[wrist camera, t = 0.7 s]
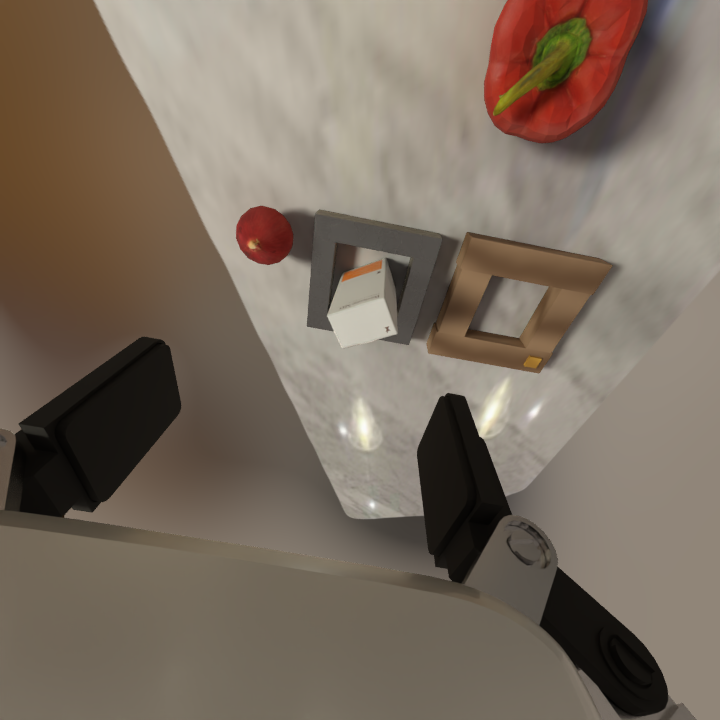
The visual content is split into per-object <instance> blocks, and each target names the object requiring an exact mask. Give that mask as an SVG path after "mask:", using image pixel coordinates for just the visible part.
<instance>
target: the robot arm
mask: <svg viewBox="0 0 720 720" xmlns="http://www.w3.org/2000/svg"><path fill="white" fill-rule="evenodd" d="M180 410H181V401H180V396H179V391H178V386H177V381H176V376H175V371H174V366H173V361H172V356H171V351H170V347H169V346H167V345H166V344H165V342H164V341H163V340H160V339H154V338H149V337H141V338H139V339H138V340H136V341H135V342H133V343H132V344H130V345H129V346H128V347H126V348H125V349H123V350H122V351H121V352H119V353H118V354H116V355H115V356H114V357H112V358H111V359H109V360H108V361H106V362H105V363H104V364H102V365H101V366H99V367H98V368H97V369H95V370H94V371H92V372H91V373H89V374H88V375H87V376H85V377H84V378H83V379H81V380H80V381H78V382H77V383H75V384H74V385H73V386H71V387H70V388H68V389H67V390H65V391H64V392H63V393H62V394H60V395H59V396H57V397H56V398H54V399H53V400H51V401H50V402H49V403H47V404H46V405H44V406H43V407H41V408H40V409H39V410H37V411H36V412H34V413H33V414H32V415H30V416H29V417H28V418H26V419H24V420H23V421H22V422H20V423H19V425H20V427H21V430H20V431H19V432H17V433H16V434H13V433H12V432H11V431H9V430H5V429H0V720H696V719H695V717H694V716H693V715H692V714H691V713H690V711H689V710H688V709H687V708H686V707H685V705H684V704H683V703H680V704H675V702H674V701H673V700H672V699H671V698H670V696H669V695H668V690H667V685H666V683H665V680H664V676H663V674H662V672H661V670H660V668H659V666H658V664H657V663H656V661H655V659H654V657H653V656H652V655H651V653H650V652H649V651H648V649H647V648H646V647H645V646H644V644H643V643H642V642H641V641H640V640H639V639H638V638H637V637H636V636H635V635H634V634H633V633H632V632H631V631H629V630H628V629H627V628H626V627H625V626H624V625H623V624H622V623H621V622H619V621H618V620H617V619H616V618H615V617H614V616H612V615H611V614H610V613H609V612H608V611H607V610H606V609H605V608H604V607H603V606H601V605H600V604H599V603H598V602H597V601H596V600H595V599H594V598H592V597H591V596H590V595H589V594H588V593H587V592H586V591H584V590H583V589H582V588H581V587H580V586H579V585H578V584H577V583H575V582H574V581H573V580H572V579H571V578H570V577H569V576H568V575H566V574H565V573H564V572H563V571H562V570H561V569H560V568H558V567H557V565H558V558H557V554H556V550H555V548H554V546H553V544H552V543H551V541H550V539H549V538H548V537H547V535H546V534H545V533H544V532H543V531H542V530H541V529H540V528H539V527H538V526H537V525H536V524H534V523H533V522H531V521H530V520H528V519H526V518H523V517H521V516H518V515H512V513H511V511H510V508H509V505H508V503H507V500H506V497H505V494H504V492H503V489H502V486H501V484H500V481H499V478H498V476H497V473H496V470H495V467H494V465H493V462H492V459H491V457H490V454H489V451H488V449H487V446H486V443H485V441H484V439H482V438H481V437H479V434H478V432H477V429H476V426H475V423H474V420H473V418H472V415H471V412H470V409H469V406H468V404H467V401H466V398H465V397H464V396H461V395H456V394H451V393H447V394H446V395H445V397H444V396H441V397H440V398H439V400H438V402H437V405H436V407H435V409H434V412H433V414H432V416H431V419H430V421H429V423H428V425H427V428H426V430H425V432H424V435H423V437H422V439H421V442H420V444H419V446H418V450H417V459H418V468H419V476H420V484H421V493H422V501H423V510H424V518H425V527H426V534H427V543H428V550H429V553H430V554H431V555H434V559H435V566H436V567H440V568H446V569H448V574H449V578H450V579H451V580H452V581H448V580H444V579H439V578H435V577H430V576H426V575H420V574H415V573H409V572H404V571H398V570H393V569H387V568H382V567H376V566H370V565H364V564H358V563H352V562H346V561H339V560H333V559H327V558H321V557H315V556H308V555H302V554H296V553H290V552H284V551H278V550H271V549H265V548H258V547H252V546H246V545H240V544H233V543H227V542H220V541H213V540H208V539H201V538H194V537H188V536H182V535H176V534H169V533H162V532H156V531H148V530H143V529H136V528H129V527H122V526H116V525H110V524H103V523H96V522H89V521H83V520H76V519H69V518H64V515H65V513H67V511H68V510H69V509H70V508H71V507H72V508H73V509H74V510H80V511H86V512H93V511H94V510H95V509H96V508H97V506H98V505H99V504H100V503H101V502H104V501H106V500H108V499H109V498H110V497H111V495H113V493H114V492H115V491H116V489H117V488H118V487H119V486H120V485H121V483H122V482H123V481H124V480H125V479H126V478H127V476H128V475H129V474H130V473H131V471H132V470H133V469H134V468H135V467H136V465H137V464H138V463H139V462H140V460H141V459H142V458H143V457H144V456H145V454H146V453H147V452H148V451H149V450H150V448H151V447H152V446H153V445H154V443H155V442H156V441H157V440H158V439H159V437H160V436H161V435H162V434H163V432H164V431H165V430H166V429H167V428H168V426H169V425H170V424H171V423H172V421H173V420H174V419H175V418H176V417H177V416H178V414H179V412H180Z"/></svg>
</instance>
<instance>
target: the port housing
mask: <svg viewBox="0 0 720 720" xmlns="http://www.w3.org/2000/svg"><path fill="white" fill-rule="evenodd" d="M456 263H457V267H456V269H455V272H454V275H453V277H452V280H451V283H450V286H449V288H448V291H447V294H446V297H445V299H444V302H443V305H442V308H441V310H440V313H439V316H438V318H437V321H436V323H434V324H433V327H432V330H431V333H430V335H429V338H428V341H427V348H428V353H429V354H435V355H440V356H446V357H451V358H457V359H462V360H468V361H474V362H479V363H485V364H490V365H496V366H501V367H507V368H512V369H518V370H523V371H529V372H534V373H540V372H541V370H542V369H543V367H544V366H545V364H546V363H547V362H548V360H549V359H550V357H551V356H552V354H553V353H552V351H553V350H554V348H555V347H556V345H557V344H558V342H559V341H560V339H561V338H562V336H563V335H564V333H565V332H566V330H567V329H568V327H569V326H570V325H571V323H572V322H573V320H574V319H575V317H576V316H577V314H578V313H579V311H580V310H581V308H582V307H583V305H584V304H585V302H586V301H587V299H588V298H589V296H590V295H593V294H594V292H595V291H596V289H597V288H598V287H599V285H600V284H601V282H602V281H603V279H604V278H605V276H606V275H607V273H608V272H609V270H610V269H611V267H612V266H613V265H611V264H609V263H607V262H605V261H603V260H601V259H599V258H594V257H589V256H585V255H580V254H575V253H570V252H565V251H560V250H555V249H550V248H545V247H540V246H535V245H530V244H525V243H520V242H515V241H510V240H505V239H500V238H495V237H490V236H485V235H480V234H475V233H470V232H467V233H466V236H465V239H464V241H463V244H462V247H461V250H460V252H459V255H458V258H457V261H456ZM492 275H494V276H499V277H504V278H509V279H514V280H519V281H525V282H530V283H535V284H540V285H545V286H549V288H548V290H547V291H546V293H545V295H544V297H543V298H542V300H541V302H540V303H539V305H538V307H537V309H536V310H535V312H534V314H533V316H532V317H531V319H530V321H529V323H528V324H527V326H526V328H525V329H524V331H523V333H522V335H521V336H520V338H514V337H508V336H503V335H498V334H492V333H487V332H482V331H476V330H471V329H468V327H469V325H470V323H471V321H472V318H473V316H474V314H475V312H476V309H477V307H478V305H479V303H480V301H481V298H482V296H483V294H484V292H485V289H486V287H487V285H488V283H489V280H490V278H491V276H492Z"/></svg>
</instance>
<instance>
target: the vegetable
mask: <svg viewBox="0 0 720 720" xmlns="http://www.w3.org/2000/svg"><path fill="white" fill-rule="evenodd" d="M647 3H648V0H508V1H507V2H506V4H505V6H504V8H503V10H502V12H501V14H500V16H499V18H498V21H497V23H496V25H495V27H494V33H493V38H492V43H491V50H490V58H489V65H488V69H487V73H486V77H485V81H484V101H485V104H486V108H487V112H488V114H489V116H490V118H491V120H492V122H493V124H494V125H495V126H496V127H497V128H498V129H500V130H501V131H502V132H504V133H505V134H508V135H513V136H517V137H520V138H523V139H526V140H528V141H533V142H537V143H550V142H555V141H558V140H561V139H564V138H566V137H568V136H569V135H571V134H572V133H574V132H576V131H577V130H579V129H580V128H582V127H583V126H584V125H586V124H587V123H589V122H590V121H591V119H592V118H593V117H594V116H595V115H596V114H597V113H598V112H599V111H600V110H601V109H602V108H603V107H604V105H605V104H606V102H607V101H608V99H609V97H610V96H611V94H612V92H613V91H614V89H615V87H616V84H617V82H618V80H619V78H620V75H621V73H622V70H623V67H624V64H625V61H626V58H627V55H628V53H629V51H630V49H631V47H632V45H633V43H634V41H635V39H636V37H637V35H638V33H639V30H640V28H641V25H642V22H643V20H644V17H645V15H646V12H647Z"/></svg>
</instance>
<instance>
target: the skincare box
mask: <svg viewBox="0 0 720 720" xmlns="http://www.w3.org/2000/svg"><path fill="white" fill-rule="evenodd" d="M327 317H328V319H329V321H330V324H331V326H332V328H333V330H334V332H335V335H336V337H337V339H338V341H339V343H340V346H341V348H348V347H351V346H355V345H359V344H365V343H369V342H373V341H375V340H378V339H382V338H385V337H389V336H392V335H396V334H398V328H397V303H396V287H395V284H394V280H393V277H392V274H391V271H390V268H389V265H388V262H387V258H384V259H381V260H379V261H376V262H373V263H370V264H367V265H365V266H362V267H359V268H356V269H352V270H349V271H346V272H343V273H342V276H341V279H340V282H339V284H338V287H337V290H336V292H335V295H334V298H333V301H332V303H331V306H330V309H329V311H328V314H327Z"/></svg>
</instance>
